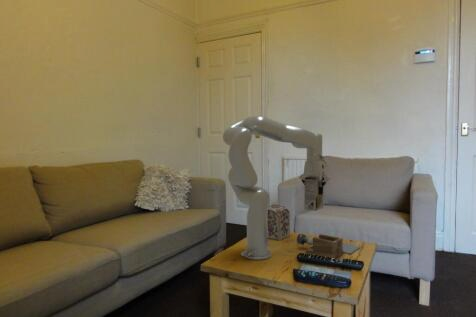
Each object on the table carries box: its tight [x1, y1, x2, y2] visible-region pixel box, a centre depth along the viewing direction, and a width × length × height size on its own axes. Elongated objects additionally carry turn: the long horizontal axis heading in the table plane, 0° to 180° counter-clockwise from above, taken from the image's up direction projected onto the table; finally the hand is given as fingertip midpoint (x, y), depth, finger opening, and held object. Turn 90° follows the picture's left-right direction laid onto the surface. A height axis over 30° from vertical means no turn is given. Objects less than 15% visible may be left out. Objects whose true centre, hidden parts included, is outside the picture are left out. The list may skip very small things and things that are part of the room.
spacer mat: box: [343, 243, 361, 255], centre depth 168 cm, size 12×12×1 cm
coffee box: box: [303, 177, 324, 212], centre depth 175 cm, size 9×6×16 cm
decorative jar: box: [268, 202, 291, 241], centre depth 189 cm, size 12×12×18 cm
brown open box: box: [305, 233, 344, 259], centre depth 161 cm, size 10×14×8 cm
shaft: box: [296, 233, 314, 246], centre depth 165 cm, size 5×14×5 cm, turn 50°
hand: (313, 193), depth 175 cm, fingers closed on coffee box, 6 cm apart
